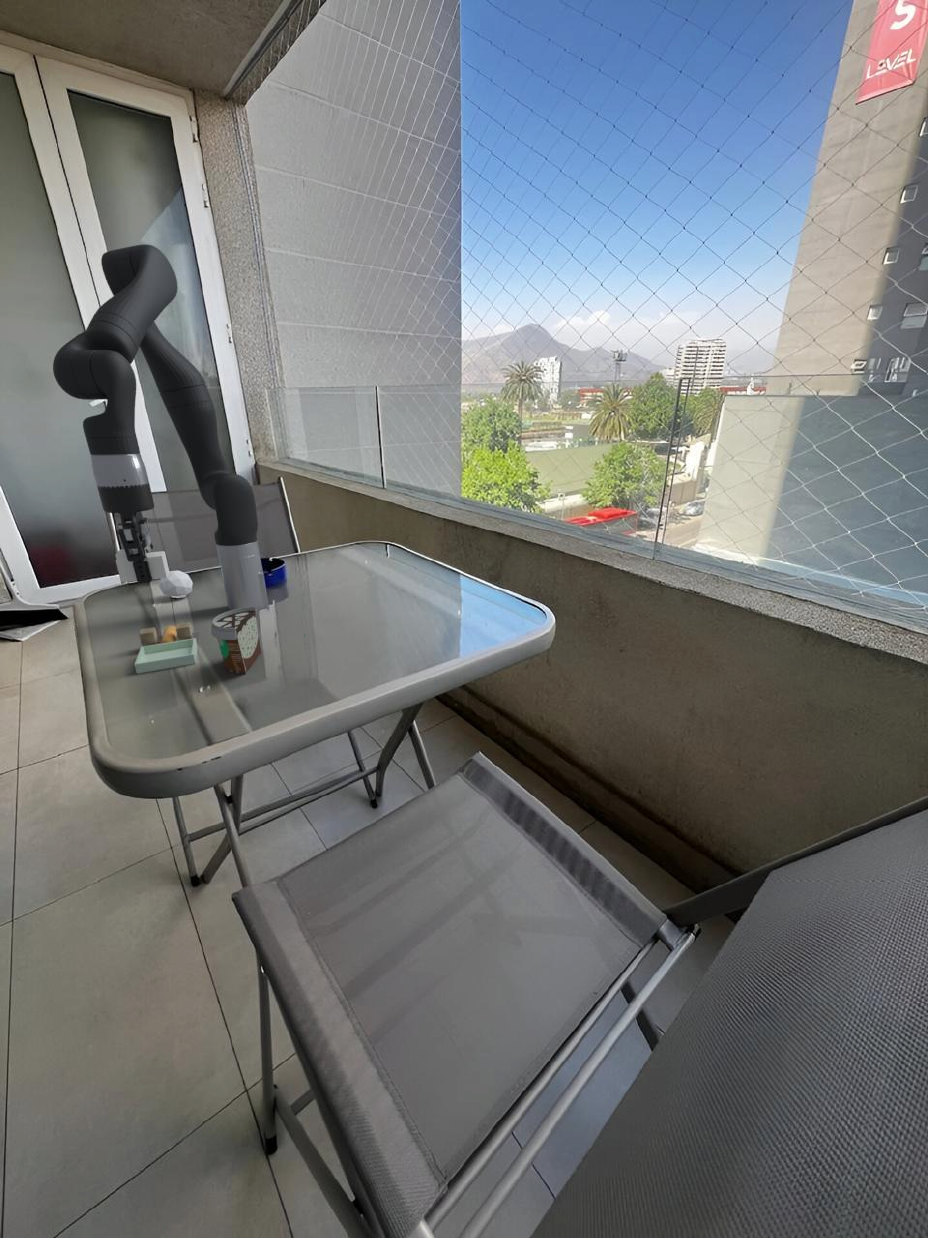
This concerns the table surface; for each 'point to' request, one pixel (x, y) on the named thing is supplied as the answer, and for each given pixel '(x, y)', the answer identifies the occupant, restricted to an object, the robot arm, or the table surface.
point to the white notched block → (155, 562)
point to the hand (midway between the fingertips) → (147, 578)
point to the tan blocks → (151, 638)
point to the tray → (166, 655)
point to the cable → (169, 634)
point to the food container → (238, 638)
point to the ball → (176, 584)
